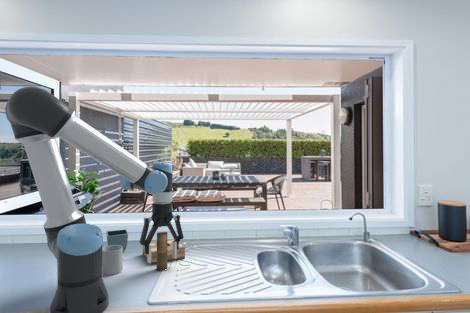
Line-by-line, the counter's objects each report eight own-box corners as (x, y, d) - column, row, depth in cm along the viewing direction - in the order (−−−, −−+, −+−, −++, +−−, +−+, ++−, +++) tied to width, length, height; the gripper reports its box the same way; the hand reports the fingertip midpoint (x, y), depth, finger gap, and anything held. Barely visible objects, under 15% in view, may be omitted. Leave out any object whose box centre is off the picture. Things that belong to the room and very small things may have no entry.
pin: (168, 269, 119) (168, 233, 119) (158, 271, 117) (158, 235, 117) (165, 266, 123) (165, 231, 122) (155, 268, 121) (155, 232, 120)
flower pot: (106, 250, 141) (106, 231, 141) (126, 248, 145) (126, 229, 144) (106, 256, 133) (106, 235, 133) (128, 254, 137) (128, 233, 136)
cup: (97, 274, 114) (97, 250, 114) (113, 264, 124) (113, 242, 124) (115, 276, 113) (115, 251, 113) (129, 266, 123) (129, 243, 122)
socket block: (184, 258, 131) (184, 247, 131) (152, 264, 124) (152, 252, 124) (173, 249, 143) (173, 238, 143) (142, 254, 136) (142, 243, 136)
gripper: (185, 198, 128) (184, 252, 129) (130, 203, 117) (130, 261, 117) (192, 201, 122) (192, 257, 123) (135, 206, 110) (135, 268, 111)
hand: (162, 259), depth 120 cm, fingers open, 9 cm apart
